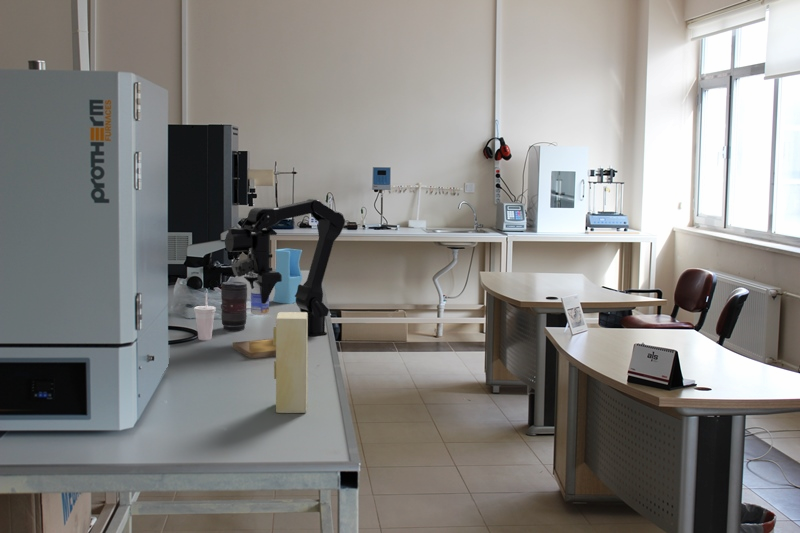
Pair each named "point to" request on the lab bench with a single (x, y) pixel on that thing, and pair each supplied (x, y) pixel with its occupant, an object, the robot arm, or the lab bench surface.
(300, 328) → the toy refrigerator
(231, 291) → the camera lens
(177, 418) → the lab bench surface
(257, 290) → the pill bottle
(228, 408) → the lab bench surface
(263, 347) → the shelf board
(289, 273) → the vase
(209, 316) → the smoothie
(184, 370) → the lab bench surface
